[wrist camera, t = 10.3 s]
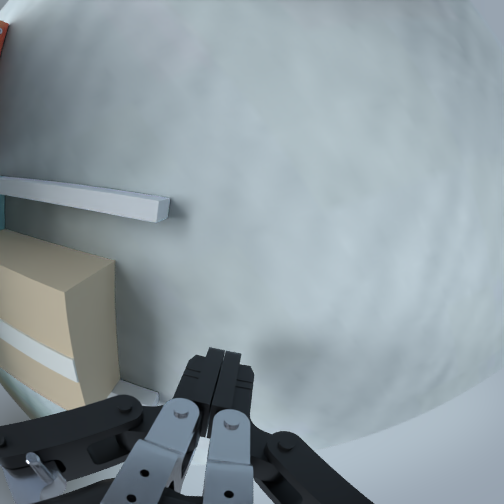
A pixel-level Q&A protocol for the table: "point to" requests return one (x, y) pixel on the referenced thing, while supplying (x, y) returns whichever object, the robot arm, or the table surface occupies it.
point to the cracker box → (2, 33)
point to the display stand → (96, 201)
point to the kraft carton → (57, 320)
